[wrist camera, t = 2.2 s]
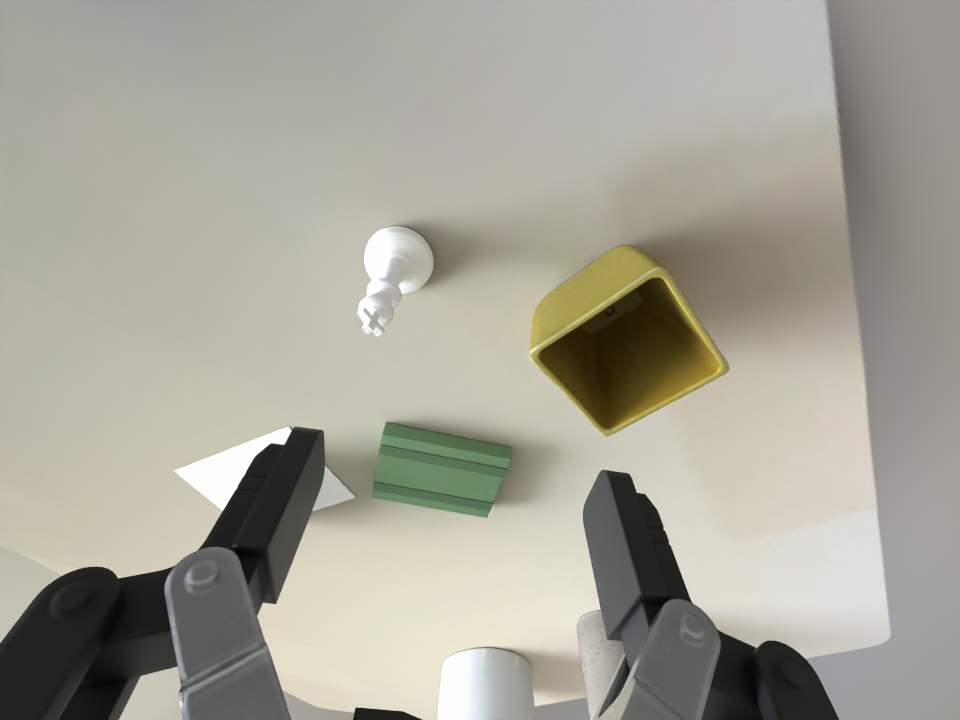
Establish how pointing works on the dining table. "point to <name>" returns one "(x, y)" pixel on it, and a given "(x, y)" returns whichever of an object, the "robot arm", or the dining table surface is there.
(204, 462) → the napkin holder
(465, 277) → the dining table surface
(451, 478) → the green flat rectangular block
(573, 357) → the flower pot
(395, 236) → the chess piece
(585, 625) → the thermos bottle
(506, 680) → the utensil holder
